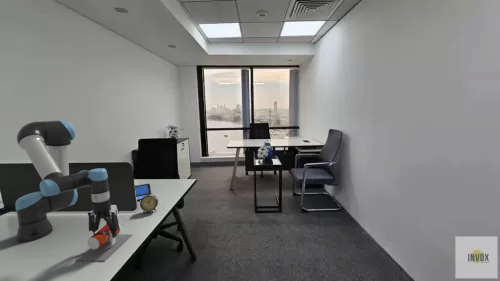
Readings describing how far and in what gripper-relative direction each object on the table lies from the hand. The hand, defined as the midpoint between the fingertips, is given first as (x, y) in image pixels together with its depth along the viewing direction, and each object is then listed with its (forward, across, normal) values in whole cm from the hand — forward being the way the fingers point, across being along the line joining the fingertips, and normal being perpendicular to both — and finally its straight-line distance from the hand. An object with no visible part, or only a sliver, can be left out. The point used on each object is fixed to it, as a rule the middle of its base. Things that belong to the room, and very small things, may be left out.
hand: (105, 243), depth 115 cm
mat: (+2, 0, 0) cm, 2 cm away
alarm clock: (+2, +2, +41) cm, 41 cm away
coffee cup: (-5, 0, -8) cm, 9 cm away
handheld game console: (+3, -18, +66) cm, 68 cm away
